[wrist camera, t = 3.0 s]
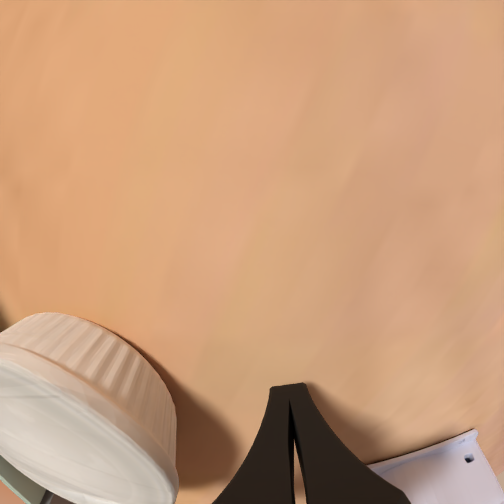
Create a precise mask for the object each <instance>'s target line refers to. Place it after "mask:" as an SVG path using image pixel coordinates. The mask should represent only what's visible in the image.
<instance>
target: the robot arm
mask: <svg viewBox="0 0 504 504" xmlns="http://www.w3.org/2000/svg"><path fill="white" fill-rule="evenodd" d="M477 435H478V431H477V430H476V429H473V430H471V431H468V432H466V433H464V434H461V435H459V436H456V437H454V438H452V439H449V440H446V441H444V442H441V443H439V444H436V445H433V446H430V447H428V448H425V449H422V450H419V451H416V452H413V453H410V454H406V455H403V456H400V457H396V458H393V459H389V460H386V461H382V462H378V463H374V464H370V465H365V464H364V463H363V462H361V461H360V460H359V459H358V458H357V457H356V456H355V455H354V454H353V453H352V452H351V451H350V450H349V449H348V448H347V447H346V446H345V445H344V444H343V443H342V442H341V440H340V439H339V438H338V437H337V436H336V434H335V433H334V432H333V431H332V429H331V428H330V427H329V425H328V424H327V423H326V421H325V420H324V418H323V417H322V415H321V414H320V412H319V411H318V409H317V407H316V406H315V404H314V402H313V400H312V398H311V396H310V394H309V392H308V389H307V387H306V384H304V383H297V384H290V385H282V386H274V387H271V388H270V393H269V399H268V404H267V408H266V411H265V415H264V418H263V421H262V423H261V426H260V429H259V431H258V434H257V436H256V438H255V441H254V443H253V445H252V447H251V449H250V451H249V453H248V455H247V457H246V458H245V460H244V462H243V464H242V465H241V467H240V468H239V470H238V471H237V473H236V474H235V476H234V477H233V479H232V480H231V481H230V483H229V484H228V485H227V487H226V488H225V489H224V490H223V491H222V493H221V494H220V495H219V496H218V497H217V499H216V500H215V501H214V502H213V503H212V504H295V494H294V441H295V445H296V450H297V454H298V458H299V463H300V467H301V472H302V476H303V481H304V486H305V494H306V503H307V504H504V493H503V490H502V488H501V486H500V484H499V482H498V480H497V478H496V476H495V474H494V472H493V470H492V469H491V467H490V465H489V463H488V461H487V459H486V457H485V456H484V454H483V452H482V450H481V448H480V446H479V445H478V443H477V441H476V437H477Z"/></svg>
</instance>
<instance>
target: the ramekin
mask: <svg viewBox="0 0 504 504" xmlns="http://www.w3.org/2000/svg"><path fill="white" fill-rule="evenodd" d="M176 431H177V417H176V411H175V405H174V403H173V401H172V397H171V394H170V393H169V391H168V389H167V387H166V385H165V383H164V382H163V381H162V379H161V378H160V376H159V374H158V373H157V372H156V371H155V370H154V368H153V367H152V366H151V365H150V364H149V362H148V361H147V360H146V359H145V358H144V357H143V356H142V355H141V354H140V353H139V352H138V351H137V350H135V349H134V348H133V347H132V346H131V345H129V344H128V343H127V342H125V341H124V340H123V339H121V338H120V337H118V336H117V335H115V334H114V333H112V332H110V331H109V330H107V329H105V328H103V327H101V326H100V325H98V324H95V323H93V322H91V321H88V320H85V319H82V318H79V317H75V316H72V315H68V314H62V313H58V312H55V313H51V312H44V313H36V314H33V315H31V316H27V317H25V318H24V319H22V320H20V321H19V322H17V323H15V324H14V325H12V326H11V327H9V328H7V329H6V330H4V331H3V332H1V333H0V455H1V456H2V457H3V458H5V459H6V460H7V461H8V462H9V463H10V464H12V465H13V466H14V467H15V468H16V469H18V470H19V471H20V472H22V473H23V474H24V475H26V476H27V477H29V478H30V479H31V480H33V481H34V482H36V483H38V484H39V485H41V486H42V487H44V488H46V489H47V490H49V491H51V492H53V493H55V494H57V495H58V496H60V497H62V498H65V499H67V500H69V501H71V502H73V503H76V504H175V501H176V498H177V494H178V489H179V477H178V473H177V470H176V468H175V465H176Z"/></svg>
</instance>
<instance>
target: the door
mask: <svg viewBox="0 0 504 504" xmlns="http://www.w3.org/2000/svg"><path fill="white" fill-rule="evenodd" d="M0 480H1V481H2V482H3V483H4V484H5V485H6V486H7V487H8V488H10V490H12V491H13V492H14V493H15V494H16V495H17V496H18V497H19V498H20V499H22V500H23V501H24V502H25V503H26V504H40V502H41V500H42V498H43V496H44V493H45V491H46V488H44V487H42V486H41V485H39V484H38V483H36V482H34V481H33V480H31V479H30V478H29V477H27V476H26V475H24V474H23V473H22V472H20V471H19V470H18V469H16V468H15V467H14V466H13V465H12V464H10V463H9V462H8V461H7V460H6V459H5V458H3V457H2V456H1V455H0Z"/></svg>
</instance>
